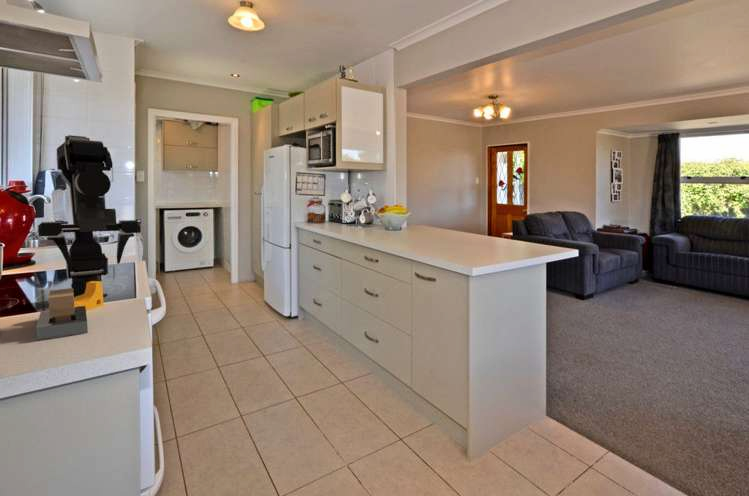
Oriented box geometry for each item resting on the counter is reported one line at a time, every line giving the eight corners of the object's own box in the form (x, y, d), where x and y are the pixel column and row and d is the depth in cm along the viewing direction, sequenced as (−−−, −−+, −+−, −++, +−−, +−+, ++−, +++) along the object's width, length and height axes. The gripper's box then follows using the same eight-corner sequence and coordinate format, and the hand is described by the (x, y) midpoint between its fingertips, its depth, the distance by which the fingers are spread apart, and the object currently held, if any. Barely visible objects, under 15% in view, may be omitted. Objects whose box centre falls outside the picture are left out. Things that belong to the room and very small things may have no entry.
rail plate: (41, 322, 89) (40, 311, 89) (86, 316, 94) (85, 305, 94) (37, 340, 78) (36, 327, 78) (87, 332, 83) (86, 320, 83)
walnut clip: (53, 323, 88) (50, 290, 87) (75, 320, 91) (73, 287, 90) (51, 334, 82) (48, 298, 81) (76, 330, 84) (73, 295, 83)
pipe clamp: (88, 305, 104) (86, 280, 103) (103, 306, 103) (101, 281, 103) (45, 319, 92) (43, 291, 91) (62, 320, 92) (60, 292, 91)
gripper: (33, 196, 79) (40, 274, 81) (141, 197, 90) (146, 266, 92) (37, 196, 88) (43, 267, 90) (135, 197, 99) (139, 260, 101)
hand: (94, 265), depth 93 cm, fingers open, 9 cm apart
